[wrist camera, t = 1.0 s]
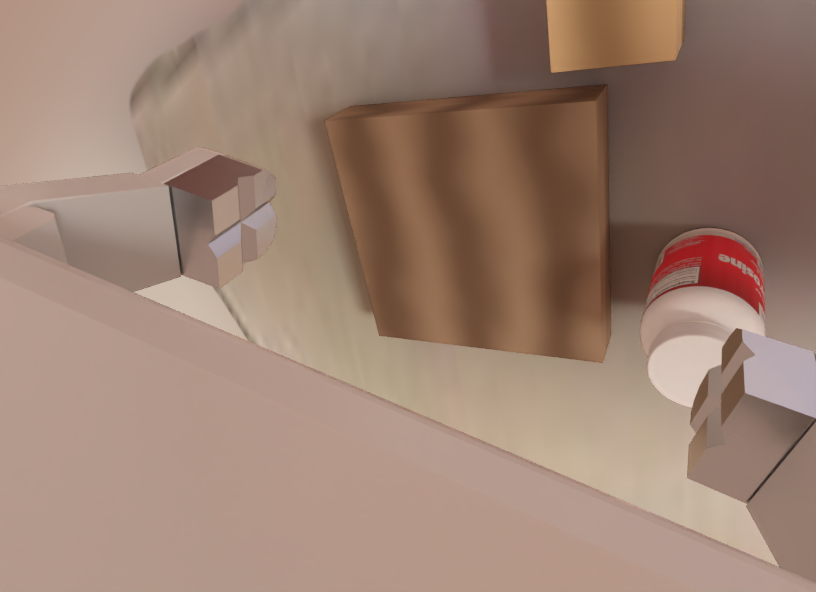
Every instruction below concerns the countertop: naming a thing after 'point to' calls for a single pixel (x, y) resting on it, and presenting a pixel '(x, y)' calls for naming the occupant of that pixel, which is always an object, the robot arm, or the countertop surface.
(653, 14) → the oak block
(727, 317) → the pill bottle
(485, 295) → the walnut block
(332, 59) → the countertop surface
